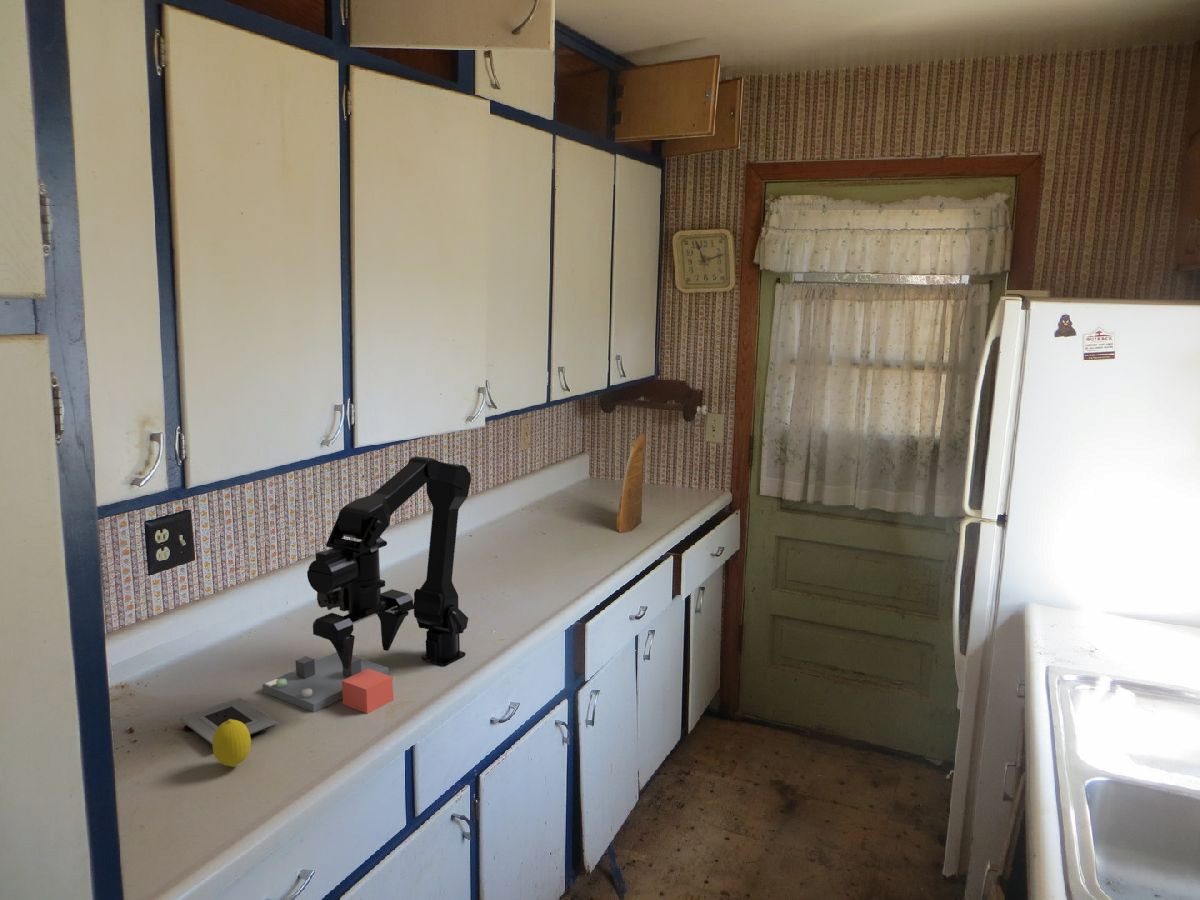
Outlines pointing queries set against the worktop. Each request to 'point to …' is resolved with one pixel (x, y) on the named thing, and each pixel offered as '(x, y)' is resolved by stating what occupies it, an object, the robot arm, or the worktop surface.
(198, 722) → the electrical outlet
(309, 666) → the dark gray block
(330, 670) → the panel
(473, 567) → the worktop surface
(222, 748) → the lemon
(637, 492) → the wooden fin shape
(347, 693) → the cap
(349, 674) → the dark grey small block
